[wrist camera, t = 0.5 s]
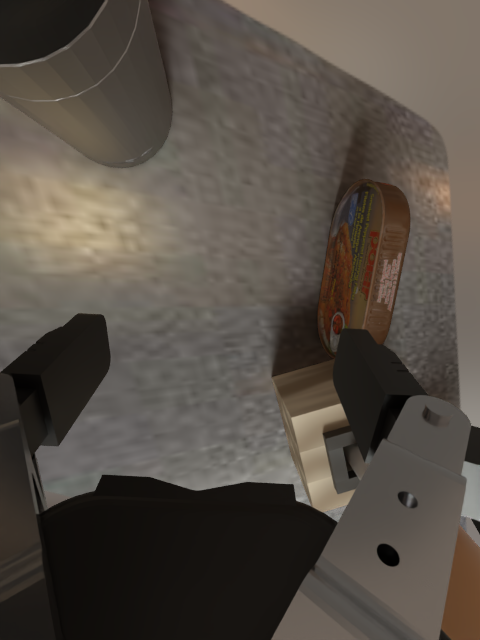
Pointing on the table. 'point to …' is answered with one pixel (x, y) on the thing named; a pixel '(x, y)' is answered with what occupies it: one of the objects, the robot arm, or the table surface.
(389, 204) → the tin
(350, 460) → the flanged tan peg
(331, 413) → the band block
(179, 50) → the table surface
